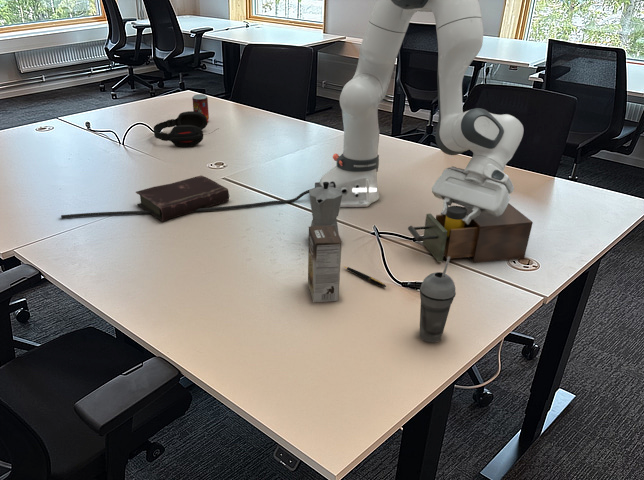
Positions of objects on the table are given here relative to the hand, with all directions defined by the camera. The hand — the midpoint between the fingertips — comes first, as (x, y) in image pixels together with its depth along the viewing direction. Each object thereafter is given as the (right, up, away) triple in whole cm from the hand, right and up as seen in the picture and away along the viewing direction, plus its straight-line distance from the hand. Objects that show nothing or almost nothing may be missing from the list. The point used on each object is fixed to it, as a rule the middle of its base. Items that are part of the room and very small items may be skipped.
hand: (454, 219), depth 154 cm
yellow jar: (+1, -3, +3) cm, 4 cm away
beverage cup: (-14, -29, -26) cm, 42 cm away
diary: (-76, +10, +41) cm, 87 cm away
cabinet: (+12, -7, +7) cm, 15 cm away
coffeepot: (-32, -4, +15) cm, 36 cm away
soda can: (-78, +63, +124) cm, 159 cm away
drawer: (-1, -8, +5) cm, 10 cm away
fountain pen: (-25, -16, -4) cm, 30 cm away
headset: (-82, +49, +102) cm, 139 cm away
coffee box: (-36, -20, -9) cm, 42 cm away
